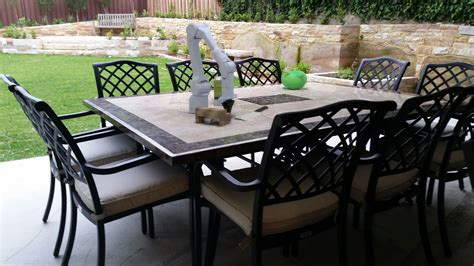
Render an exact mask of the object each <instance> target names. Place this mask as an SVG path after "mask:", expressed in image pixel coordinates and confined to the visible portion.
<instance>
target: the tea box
mask: <svg viewBox="0 0 474 266" xmlns="http://www.w3.org/2000/svg"><path fill="white" fill-rule="evenodd" d="M221 96H222V77H221V75H220V76H214V78H213V100H214V101H213V105H214V106H215V107H220V106H221V107H223V105H222V104H221V103H219V102H218V98H220V97H221Z"/></svg>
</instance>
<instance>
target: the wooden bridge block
mask: <svg viewBox="0 0 474 266" xmlns="http://www.w3.org/2000/svg"><path fill="white" fill-rule="evenodd" d="M194 115H195V116H194V117H195V120H194V121H195V123H196V124H201V123H202V122H203V118H204V117H211V118H219V121H218V126H219V127H223V125H224V126H226V124H227V125H229V124H231V123H232V112H231V113H226V109H224V108H219V107H218V108H215V107H209V106H208V107H201V106H200V107H197V108H195V113H194ZM230 122H231V123H230ZM203 123H204V122H203ZM228 123H229V124H228Z"/></svg>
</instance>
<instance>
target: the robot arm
mask: <svg viewBox="0 0 474 266" xmlns="http://www.w3.org/2000/svg"><path fill="white" fill-rule="evenodd" d="M185 33H186V45H187V50H188V55H189V59H190V60H189V61H190V65H191V69H192V76H193V77H192V79H191V80H190V88H189V89H190V92H191V95H190V96H189V98H188V106H189V107H188V110H189V111H188V113H190V114H195V108H197V107H200V106H201V107H209V95H210V93H211V91H212V84H211V83H210V79H209V78H208V77H207V76H206V75H205V72H204V67H203V60H202V56H201V49H200V45H199V43H200V42H201V41H202V40H203V41H204V42H205V44H206V45H207V46H208V47H209V49H210V50H211V51H212V54H211V55H212V58H213V59H214V60H215V62H216V63H217V65H218V70H219V73H220V76H221V77H222V96H221V97H220V98H218V102H219V103H221V104H222V105H223V106H222V109H226V113H231V114H232V110H233V106H234V104H235V101H236V100H235V99H237V98H238V95H237V94H236V93H235V89H234V87H235V85H234V83H235V82H234V81H235V76H234V75H235V74H234V73H236V71H237V64H236V62H235V61H233V60H231V59H230V57H228V55H227V54H226V51H225V49H223V47H220V46H218V44H217V42H216V40H215V39H214V37H213V35H212V33H211V28H210V27H209V25H208V24H207V23H206V22H189V23H188V25H187V26H186V27H185Z"/></svg>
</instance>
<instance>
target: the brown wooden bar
mask: <svg viewBox="0 0 474 266" xmlns="http://www.w3.org/2000/svg"><path fill="white" fill-rule="evenodd" d="M216 121H217V122H219V118H211V117H204V118H203V123H204V122H206V123H205V124H210V123H211V124H213V122H214V123H216Z"/></svg>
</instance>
